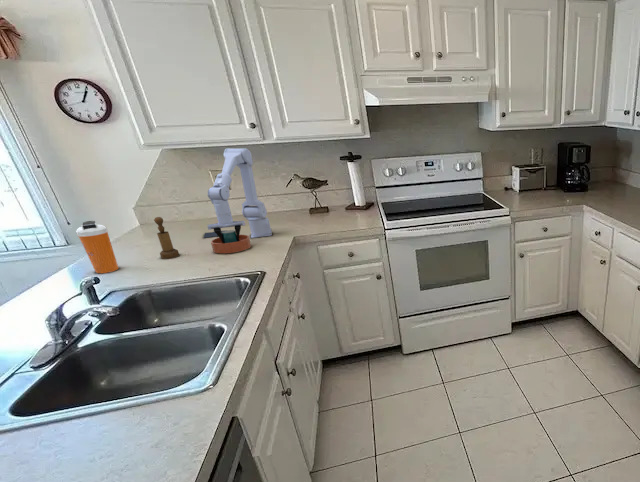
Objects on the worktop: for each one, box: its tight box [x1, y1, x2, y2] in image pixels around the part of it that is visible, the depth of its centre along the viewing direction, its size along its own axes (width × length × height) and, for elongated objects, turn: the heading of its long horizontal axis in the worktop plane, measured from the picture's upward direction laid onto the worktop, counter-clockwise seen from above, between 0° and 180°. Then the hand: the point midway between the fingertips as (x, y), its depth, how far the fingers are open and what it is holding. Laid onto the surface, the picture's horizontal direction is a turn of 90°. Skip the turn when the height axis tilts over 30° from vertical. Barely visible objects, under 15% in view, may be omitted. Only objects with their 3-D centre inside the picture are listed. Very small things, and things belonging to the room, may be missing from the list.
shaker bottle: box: [75, 220, 120, 274], centre depth 164 cm, size 9×9×20 cm
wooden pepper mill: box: [153, 216, 180, 260], centre depth 180 cm, size 7×6×18 cm
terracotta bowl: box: [210, 234, 252, 254], centre depth 192 cm, size 15×15×5 cm
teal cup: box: [222, 229, 238, 243], centre depth 192 cm, size 5×5×8 cm
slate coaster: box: [203, 230, 225, 239], centre depth 217 cm, size 10×10×1 cm
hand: (231, 242), depth 192 cm, fingers closed on teal cup, 5 cm apart
